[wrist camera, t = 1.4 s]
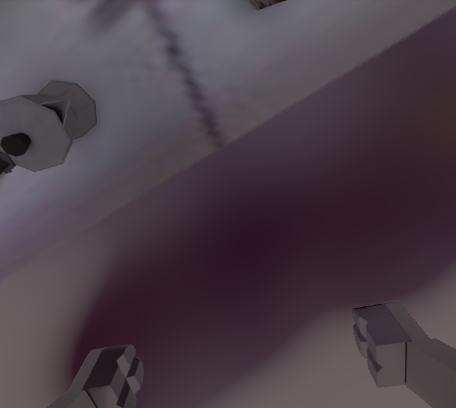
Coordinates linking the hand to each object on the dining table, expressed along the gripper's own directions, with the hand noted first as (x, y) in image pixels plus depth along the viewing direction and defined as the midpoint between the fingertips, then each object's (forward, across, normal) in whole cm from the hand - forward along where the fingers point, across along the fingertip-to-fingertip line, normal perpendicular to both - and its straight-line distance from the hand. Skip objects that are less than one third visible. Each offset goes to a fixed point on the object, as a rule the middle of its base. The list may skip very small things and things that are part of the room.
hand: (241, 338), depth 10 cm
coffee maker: (+38, +25, -11) cm, 47 cm away
